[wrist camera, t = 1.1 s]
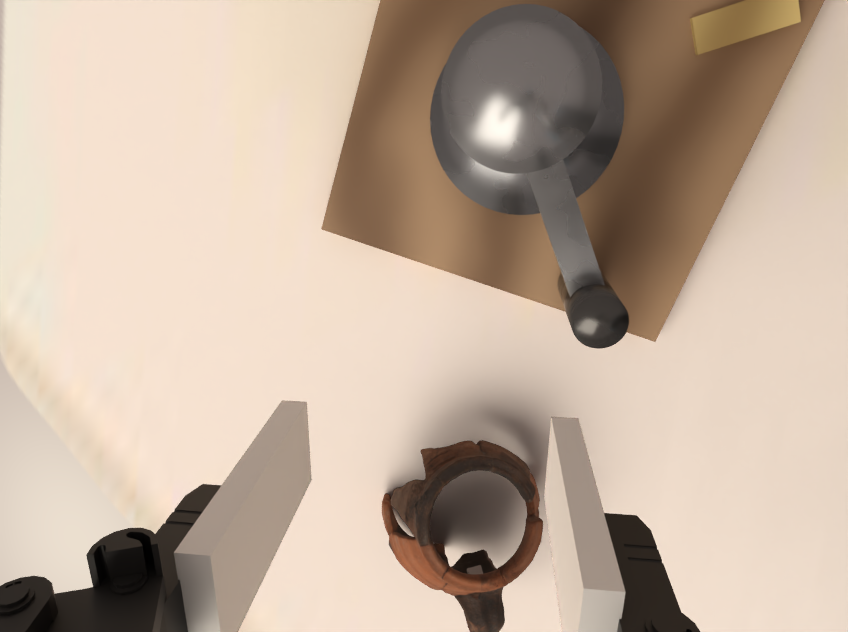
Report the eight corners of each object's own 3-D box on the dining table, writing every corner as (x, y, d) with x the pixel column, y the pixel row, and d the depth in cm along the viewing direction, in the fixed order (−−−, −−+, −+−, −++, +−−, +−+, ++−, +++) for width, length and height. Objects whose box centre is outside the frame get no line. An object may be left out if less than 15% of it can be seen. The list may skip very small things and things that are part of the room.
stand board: (831, -38, 27) (882, -59, 24) (649, 333, 34) (668, 360, 30) (420, -178, 27) (409, -221, 23) (318, 222, 34) (298, 236, 30)
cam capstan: (403, 65, 29) (381, 55, 23) (586, -19, 27) (612, -53, 21) (506, 330, 33) (509, 378, 27) (673, 273, 31) (715, 312, 25)
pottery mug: (353, 458, 39) (372, 483, 31) (481, 404, 41) (530, 414, 33) (417, 631, 39) (453, 699, 31) (542, 566, 42) (604, 615, 34)
